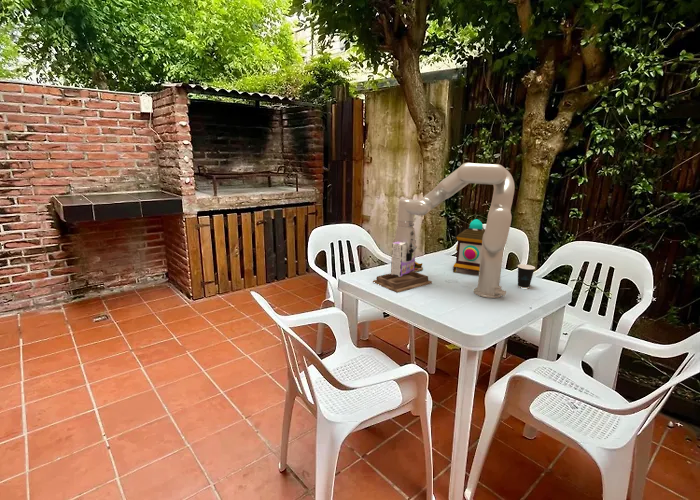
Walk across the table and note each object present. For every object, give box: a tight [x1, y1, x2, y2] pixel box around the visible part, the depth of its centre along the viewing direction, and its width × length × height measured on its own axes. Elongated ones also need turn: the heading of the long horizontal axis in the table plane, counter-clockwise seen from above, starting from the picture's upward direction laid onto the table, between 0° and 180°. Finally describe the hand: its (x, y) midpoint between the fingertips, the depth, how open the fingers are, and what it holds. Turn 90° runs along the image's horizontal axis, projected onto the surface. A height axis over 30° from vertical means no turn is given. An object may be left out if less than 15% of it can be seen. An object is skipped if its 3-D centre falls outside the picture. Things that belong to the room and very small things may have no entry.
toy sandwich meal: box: [414, 261, 424, 273], centre depth 214 cm, size 12×14×5 cm
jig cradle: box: [372, 271, 433, 294], centre depth 188 cm, size 18×24×4 cm
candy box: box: [390, 239, 417, 277], centre depth 186 cm, size 14×6×16 cm, turn 140°
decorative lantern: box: [452, 218, 485, 273], centre depth 208 cm, size 20×20×30 cm
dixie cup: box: [517, 263, 536, 288], centre depth 184 cm, size 8×8×11 cm
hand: (403, 258), depth 186 cm, fingers closed on candy box, 6 cm apart
